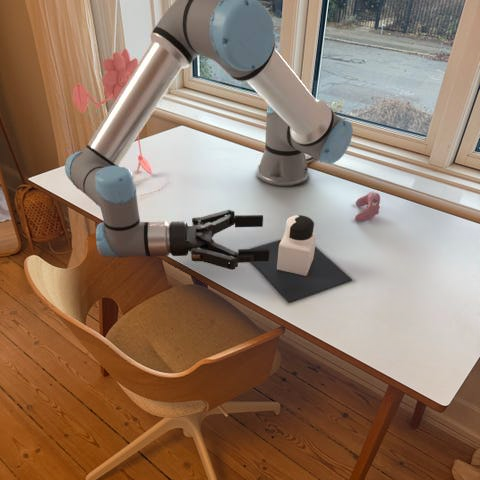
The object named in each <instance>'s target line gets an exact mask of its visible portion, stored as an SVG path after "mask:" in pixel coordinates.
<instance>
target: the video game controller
mask: <svg viewBox="0 0 480 480" xmlns="http://www.w3.org/2000/svg"><path fill="white" fill-rule="evenodd" d="M380 204H381V195H380V194H379V193H378V192H375V191H370V192H369V193H367V194H364V195H363V196H361V197H359V198H358V199H357V200H356V201H355V206H356V207H364V210H363V211H361V212H358V213H357V214H356V215H355V217H354V220H355V222H357V223H361V222H367V221H368V220H370V219H371V218H374V217H375V216H376V215H379V213H380V207H381V206H380Z"/></svg>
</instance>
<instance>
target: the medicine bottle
mask: <svg viewBox="0 0 480 480" xmlns="http://www.w3.org/2000/svg"><path fill="white" fill-rule="evenodd" d="M314 227H315V222H314V220H313V219H312V218H310V217H309V216H306V215H302V214H301V215H300V214H298V215H297V214H296V215H292V216H290V217H289V218H287V220H286V223H285V232H284V234H283V236H282V238H281V239H280V240H281V242H280V244H279V251H278V262H277V270H281V271H285V272H290V273H294V274H299V275H304V276H307V274H308V271H309V269H310V266H311V263H312V261H313V257H314V251H315V247H316V244H317V238H318V235H317V234H316V233H314Z"/></svg>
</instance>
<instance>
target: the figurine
mask: <svg viewBox="0 0 480 480" xmlns="http://www.w3.org/2000/svg"><path fill="white" fill-rule="evenodd" d="M138 64H139V61H138V58H136V57H135V58H132V59H131V55H130V53H129V51H128V49H127V48H124V49H122V51H121V53H119V52H117V51H116V52H113V54H112V58H105V59H103V61H102V67H103V69H104V70H105V73H104V75H103V76H102V78H101V82H102V84H103V85H104V87H103V95H104V97H105V99H103V100H102V101H101V102H98V101H96V100H95V98H93V97H92V96H91V95H90V94H89V92H87V89H85V87H84V86H83V85H81V83H80V82H76V85H75V86H73V88H72V92H71V98H72V101H73V104H74V106H75V107H76V109H77V110H78V111H79V112H80V113H81V114H83V113H84V112H85V111H86V109H87V107H88V105H89V99H90V100H91V101H92V102H93V103H94V104H95V105H96V106H97V107H100V106H101V105H103V104H105V103H107V102H109V100H111V99H112V98H113V99H114V101H115V100H116V99H117V97H118V96H119V94H120V93H121V91H122V89H123V88H124V86H125V85H126V83H127V81H128V80H129V78H130V77H131V75H132V73H133V72H134V70H135V69H136V67H137V66H138ZM137 142H138V148H139V154H138V156H137V160H138V164H137V169H136V173H137V174H138V173H139V172H140V167H141V168H142V169H143V170H144V171H145V172H146V173H147V174H149V175H154V173H153V170H152V168H151V165H150V163H149V161H148V160H147V159H146V158H145V157H144V156H143V155H142V149H141V142H140V135H138V136H137ZM167 184H169V182H167V183H166V184H165V185H164V186H162V187H161V188H159V189H157V190H155V191H152V192H150V193H145V194H141V195H139V196H140V197H142V196H143V197H144V196H147V195H150V194H153V193H156V192H159V191H161V190H163V189H164V188H165V187H166V186H167Z"/></svg>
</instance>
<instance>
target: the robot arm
mask: <svg viewBox="0 0 480 480" xmlns="http://www.w3.org/2000/svg"><path fill="white" fill-rule="evenodd" d="M274 29H275V24H274V20H273V18H272V15H271V14H270V12H269V10H268V9H267V8H266V6H265V5H264V4H262V3H261V2H260V1H258V0H175V1H174V2H173V3H172V4H171V5H170V6H169V7H168V9H167V10H166V11H165V12H164V14H163V15H162V16H161V18H160V19H159V21H158V22H157V23H156V25H155V26H154V29H153V30H152V32H151V33H150V40H151V41H150V42H151V44H149V46H148V48H147V49H146V51H145V53H144V54H143V56H142V57H141V59H140V61H138V66H137V67H136V69H135V70H134V72H133V73H132V75H131V77H130V78H129V80H128V81H127V83H126V85H125V86H124V88H123V89H122V91H121V93H120V94H119V96H118V97H117V99H116V100H114V102H113V104H112V105H111V107H110V108H109V110H108V111H107V113H106V115H105V116H104V118H103V120H102V121H101V122H100V125H99V126H98V127H97V128H96V130H95V132H94V134H93V135H92V137H91V139H90V140H89V142H88V144H87V145H86V147H85V148H84V149H83V150H78V151H75V152H73V153H72V154H70V155H68V157H67V159H66V160H65V165H64V171H65V175H66V177H67V179H68V180H70V182H71V183H72V184H73V186H75V188H76V189H77V190H79V191H81V192H82V193H83V194H84V195H85V196H87V197H88V198H89V199H90V200H91V201H92V202H94V204H96V205H97V206H98V207H99V208H100V211H101V215H102V219H103V221H102V222H100V223H98V224H97V225H96V227H95V241H96V248H97V251H98V253H99V255H101V256H102V257H105V258H118V259H121V258H122V259H123V258H134V257H135V258H136V257H168V256H169V255H170V254H171V256H173V257H186V256H188V255H189V252H190V258H191V261H192V262H202V263H206V264H208V265H213V266H216V267H221V268H224V269H227V270H230V271H234V270H236V269H237V268H238V267H239V263H240V264H241V263H242V264H243V263H244V264H245V263H252V262H260V261H269V249H251V248H242V249H240V248H239V249H237V251H235V250H234V249H231V248H229V247H226V246H224V245H222V244H220V243H217V242H215V241H214V239H213V237H214V236H215V235H217V234H218V233H220V232H222V231H224V230H227V229H229V228H230V227H232V226H234V228H263V227H264V215H263V214H252V215H251V214H250V215H249V214H248V215H247V214H243V215H242V214H240V215H239V214H238V215H235V211H234V210H231V209H226V210H221V211H219V212H214V213H212V214H207V215H204V216H197V217H192V218H191V225H190V226H189V225H188V222H187V221H181V220H180V221H171V222H169V223H168V222H167V220H165V221H141V219H140V213H139V205H138V197H137V196H138V195H137V187H136V186H137V185H136V183H135V179H134V175H133V173H132V171H131V170H130V169H129V168H127V167H125V166H120V164H121V162H122V161H123V159H124V158H125V156H126V155H127V154H128V152H129V150H130V148H131V147H132V145H133V143H134V142H135V141H136V140H137V139H138V135H139V134H140V133H141V132H142V130H143V128H144V127H145V126H146V124H147V123H148V121H149V119H150V117H151V116H152V115H153V113H154V111H155V110H156V108H157V107H158V106H159V104H160V102H161V101H162V100H163V98H164V96H165V95H166V93H167V92H168V90H169V89H170V87H171V86H172V84H173V82H175V81H174V80H175V79H176V78H177V76H178V75H179V73H180V71H182V69H188V68H189V67H190V66H191V64H192V63H193V61H194V60H195V59H196V58H197V57H199V56H202V57H205V58H208V59H210V60H212V61H214V62H216V63H217V64H218V65H219V66H220V67H221V68H222V69H223V70H224V71H225V72H226V73H227V75H229V76H230V77H231V78H232V79H233V80H234V81H236V82H240V83H244V82H245V83H247V84H248V85H249V86H250V87H251V88H252V89H253V90H254V91H255V92H256V93H257V94H258V95H259V96H260V97H261V98H262V99H263V101H265V103H266V104H267V108H266V113H265V115H266V118H265V119H266V120H265V145H264V148H265V149H264V152H263V153H262V157H261V160H260V162H259V163H258V165H257V176H258V178H259V179H260V181H263V182H264V183H266V184H268V185H271V186H272V185H273V186H277V187H294V186H298V185H300V184H303V183H304V182H305V181H307V179H308V175H309V168H308V163H307V162H310V161H313V160H317V161H319V162H320V163H324V164H327V165H332V164H335V163H336V162H338V161H339V160H340V159H341V158H343V156H344V155H345V153H346V152H347V150H348V149H349V147H350V145H351V142H352V137H353V133H354V129H353V125H352V124H353V123H352V122H351V121H349V120H347V118H345V117H340V116H339V115H337V114H336V113H335V111H334V110H333V109H332V107H330V105H329V104H328V103H327V102H326V101H324V100H321V99H316V98H315V96H314V95H313V94H312V93H311V92H310V91H309V90H308V88H307V87H306V86H305V84H304V83H303V82H302V81H301V79H300V78H299V77H298V75H296V73H295V72H294V70H293V69H292V68H291V67H290V66H289V64H288V63H287V61H286V60H284V57H282V56H281V54H280V53H279V52H278V50H277V49H276V44H277V41H276V35H275V33H274ZM139 136H140V135H139ZM306 155H307V156H309V157H308V158H306Z"/></svg>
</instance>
